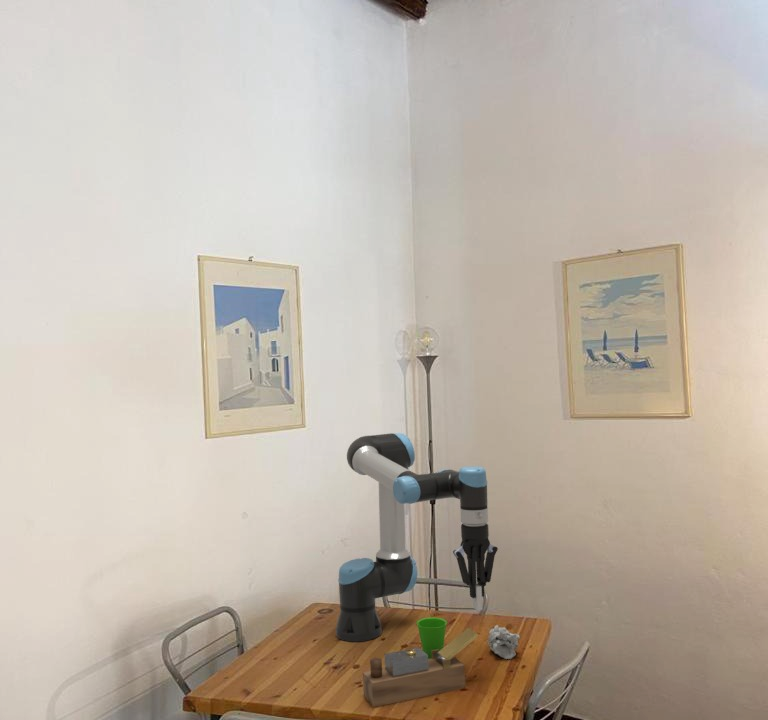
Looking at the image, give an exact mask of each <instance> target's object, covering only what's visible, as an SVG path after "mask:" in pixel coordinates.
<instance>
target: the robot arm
mask: <svg viewBox="0 0 768 720" xmlns="http://www.w3.org/2000/svg"><path fill="white" fill-rule="evenodd" d="M415 452H416V451H415V448H414V445H413V442H412V441H411V439H410V438H409V437H408V436H407V435H406V434H404V433H400V432H399V433H396V432H393V433H392V432H391V433H384V434H383V433H382V434H373V435H364V436H360V437H358V438H356V439H355V440H354V441H352V442H351V443H350V445H349V447H348V449H347V452H346V461H347V463H348V466H349V467H350V468H351V470H352V471H354V472H355V473H357V474H359V475H361V476H368V477H370V478H372V479H373V480H374V481H376V482H378V507H379V508H378V509H379V512H378V515H379V550H378V551H377V552H376V553H375V561H374V560H373V559H372V558H367V557H362V558H355V559H350V560H348V561H346V562H344V563H343V564H342V565H341V566H340V567H339V569H338V579H337V580H338V581H337V582H338V585H339V586H338V588H339V589H338V591H339V608H340V609H339V614H338V618H337V622H336V626H335V636H336V637H337V639H339V640H342V641H347V642H366V641H370V640H373V639H376V638H378V637H379V636H381V635H382V633H383V631H382V626H383V625H382V623H381V619H380V617H379V614H378V611H377V609H376V599H379V598H384V597H389V596H395V595H402V594H405V593H406V592H410V591H412V590H413V588H414V587H415V586H416V584H417V580H418V576H419V575H418V566H417V562H416V560H415V559H414V558H413V557H412V556H411V552H410V551H408V550H407V549H406V548H407V547H406V520H405V519H406V516H405V515H406V513H405V504H411V505H412V504H415V503H422V502H428V501H436V500H442V499H450V498H453V499H458V500H459V504H460V505H459V506H460V510H459V511H460V522H461V523H462V524H461V525H460V532H461V543H460V547H459V548H457V549H454V550H453V551H452V554H453V555H454V557H455V558H456V560H457V565H458V568H459V573H460V576H461V579H462V583H463V584H465V585H467V586H469V596H470V598H471V599H472V608H473V609H474V610H475V611H483V597H485V587H486V586H487V583H490V582H491V579H492V573H493V569H494V562H495V555H496V554H497V552H498V550H499V548H498V547H497V546H495V545H492V544H491V542H490V540H489V536H490V535H489V534H490V533H489V532H490V531H489V524H488V522H489V512H488V511H489V508H488V481H487V472H486V469H485V468H484V467H481V466H473V465H472V466H464V467H460V468H459V471H457V470H453V469H441V470H439V471H437V472H432V473H431V472H430V473H422V474H417V473H415V472H413V471H412V470H409V468H410V467H412V466H413V465H414V462H415V459H416V454H415ZM485 554H486V556H485ZM464 555H466V559H467V564H466V560H465V557H464Z"/></svg>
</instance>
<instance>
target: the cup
mask: <svg viewBox="0 0 768 720" xmlns="http://www.w3.org/2000/svg"><path fill="white" fill-rule="evenodd" d="M447 625H448V622H447V620H446V619H444V618H442V617H431V616H430V617H425V618H421V619H419V620H417V622H416V626H417V628H418V632H419V639H420V643H421V648H422V649H421V650H423V651H424V652H425V653H426V654H427V655H428V659H432V652H431V650H437V649H438V650H439V651H440V650H441V649H442V648H444V647H445V645H444V644H445V638H446V626H447Z"/></svg>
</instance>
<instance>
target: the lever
mask: <svg viewBox="0 0 768 720" xmlns="http://www.w3.org/2000/svg"><path fill="white" fill-rule="evenodd" d="M478 637H479V634H478V632H476V631H474V630H473V629H471V628H470V627H467V628H466V629H465V630H464V631H462V632H461V633H460V634H459V635H457V636H456V637H455V638H454V639H452V640H451V641H450V642H449V643H448V644H446V645H444V647H443V648H442V649H441V650H440V651H439V652H435V653H434V656H435V657H436V658H437V659H438V660H439V661H441V662H442V663H443V660H445V659H451V658H452V657H455V656H456V655H457V654H459V653H460V652H462V651H463V650H464V649H465V648H466V647H468V646H469V645H470V644H471V643H472V642H473V641H474V640H476V639H477V638H478Z"/></svg>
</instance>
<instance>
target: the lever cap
mask: <svg viewBox="0 0 768 720" xmlns="http://www.w3.org/2000/svg"><path fill="white" fill-rule="evenodd" d="M384 668H385V669H386V670H387V671H388V673H389V674H390V675H391V676H392V677H398V676H403V675H408V674H413V673H418V672H423V671H429V668H428V655H427V654H426V653H425V652H424V651H423V649H421V647H414V648H410V649H403V650H398V651H397V650H396V651H393V652H389V653H387V652H386V653H384Z"/></svg>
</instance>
